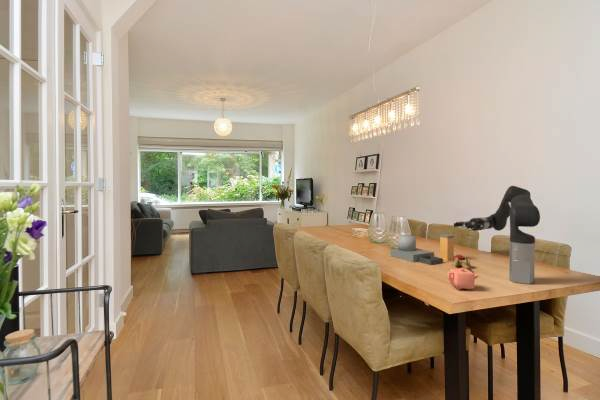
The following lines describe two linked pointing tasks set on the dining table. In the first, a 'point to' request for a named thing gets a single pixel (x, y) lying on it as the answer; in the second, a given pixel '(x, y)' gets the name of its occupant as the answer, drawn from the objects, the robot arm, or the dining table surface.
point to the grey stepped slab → (413, 251)
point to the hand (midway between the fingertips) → (460, 225)
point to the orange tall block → (447, 247)
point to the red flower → (461, 262)
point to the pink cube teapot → (462, 278)
